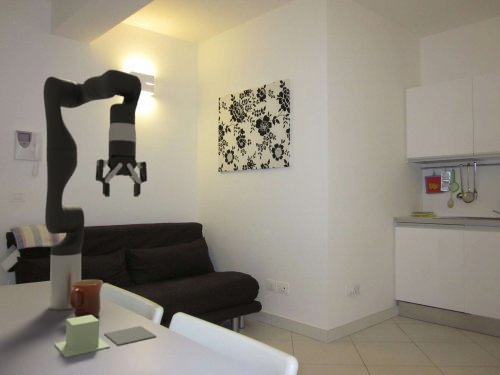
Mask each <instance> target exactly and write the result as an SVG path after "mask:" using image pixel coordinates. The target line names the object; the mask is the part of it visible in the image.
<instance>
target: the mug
mask: <svg viewBox="0 0 500 375" xmlns="http://www.w3.org/2000/svg"><path fill="white" fill-rule="evenodd" d="M103 283H104V281H103V280H101V279H81V281H76V282H73V283H72V287H73V290H72V291H71V293H70V304H71V306H72V309H73V314H74V318H76V317H81V316H87V315H93V316H94V317H95V318H97V317H98V316H100V312H101V308H102V307H101V291H102V287H103Z"/></svg>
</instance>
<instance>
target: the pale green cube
mask: <svg viewBox="0 0 500 375" xmlns="http://www.w3.org/2000/svg"><path fill="white" fill-rule="evenodd" d="M99 332H100V320H99V319H98V318H97V317H94V316H93V315H87V316H81V317H72V318H71V317H70V318H66V319H65V341H66V345H67V346H68V347H69V348H70V349H71V351H77V350H81V349H86V348H90V347H95V346H99V337H100V334H99Z"/></svg>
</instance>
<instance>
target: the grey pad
mask: <svg viewBox="0 0 500 375" xmlns="http://www.w3.org/2000/svg"><path fill="white" fill-rule="evenodd" d="M103 334H104V336H105V337H106V338H108V339H109V340H110V341H111V342H113V343H114V344H115V345H116V346H123V345H126V344H131V343H135V342H139V341H140V342H141V341H144V340H149V339H152V338H153V339H154V338H156V337H157V334H155V333H152V332H151V331H150V330H148V329H147V328H144V327H143V326H141V325H138V326H134V327H129V328H128V327H127V328H123V329H120V330H114V331H109V332H104V333H103Z"/></svg>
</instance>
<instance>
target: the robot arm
mask: <svg viewBox="0 0 500 375" xmlns="http://www.w3.org/2000/svg"><path fill="white" fill-rule="evenodd" d="M141 93H142V81H141V80H140V78H139V76H137V75H136V74H134V73H133V74H132V73H130V72H127V71H124V70H120V69H115V68H114V69H108V70H106V71H105V72H104V73H102V74H101V75H96V76H91V77H89V78H87V79H86V80H85V81H84V82H83V83H79V82H76V81H73V80H70V79H67V78H66V79H65V78H62V77H57V76H49V77H47V78H46V79H45V82H44V85H43V106H44V111H45V112H44V114H45V123H46V126H45V127H46V172H47V173H46V175H47V176H46V178H47V182H46V189H47V190H46V201H45V212H44V213H45V215H44V222H45V228H46V230H47V231H48V233H50V234H52V235H55V234H56V235H57V234H58V235H59V234H65V236H64V238H63V239H61V240H60V241H58V242H56V243H55V244H52V246H51V247H50V262H49V263H50V268H49V269H50V272H49V273H50V276H49V278H50V279H49V281H50V283H49V308H50V310H57V311H60V310H71V309H73V308H72V306H71V304H70V293H71V291H72V290H73V287H72V283H73V282H76V281H81V280H82V247H83V244H84V232H85V213H84V210H83V208H82V207H81V206H80V205H77V204H63V194H64V191H65V188H66V186H67V184H68V182H69V181H70V180H71V178H72V176H73V175H74V173H75V171H76V169H77V166H78V146H77V143H76V140H75V139H74V136H73V135H72V133H71V132H70V130H69V128H68V126H67V125H66V124H65V122H64V119H63V115H62V114H63V113H62V108H66V109H75V108H78V107H80V106H83V105H85V104H88V103H90V102H94V101H98V100H109V99H111V98H114V97H115V96H118V97H122V98H123V100H122V102H121V103H120V102H118V103H113V104H112V105H111V106H110V108H109V128H108V159H107V160H106V159H101V158H100V159H98V160H96V167H95V169H96V170H95V181H97V182H100V183H101V184H102V195H103V196H104V197H105V198H106V197H107V198H109V197H111V196H110V191H111V188H110V186H111V184H110V181H111V180H112V179H113V178H114V177H115V176H122V177H123V176H124V177H129V178H130V179H131V180H132V182H133V197H134V198H135V197H136V198H137V197H138V198H139V196H140V195H141V193H142V192H141V191H142V190H141V185H142V183H146V182H147V181H148V174H147V171H148V170H147V162H146V161H139V162H138V161H137V160H136V158H137V157H136V155H137V149H136V148H137V131H136V111H137V109H138V108H137V107H138V103H139V100H140V96H141ZM106 166H107V167H108V168H109V170H108V172H107V173H106V175H105V176H104V168H106ZM136 168H137V169H138V170H139V171H138V172H139V174H138V173H137V171H135V170H136Z"/></svg>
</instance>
